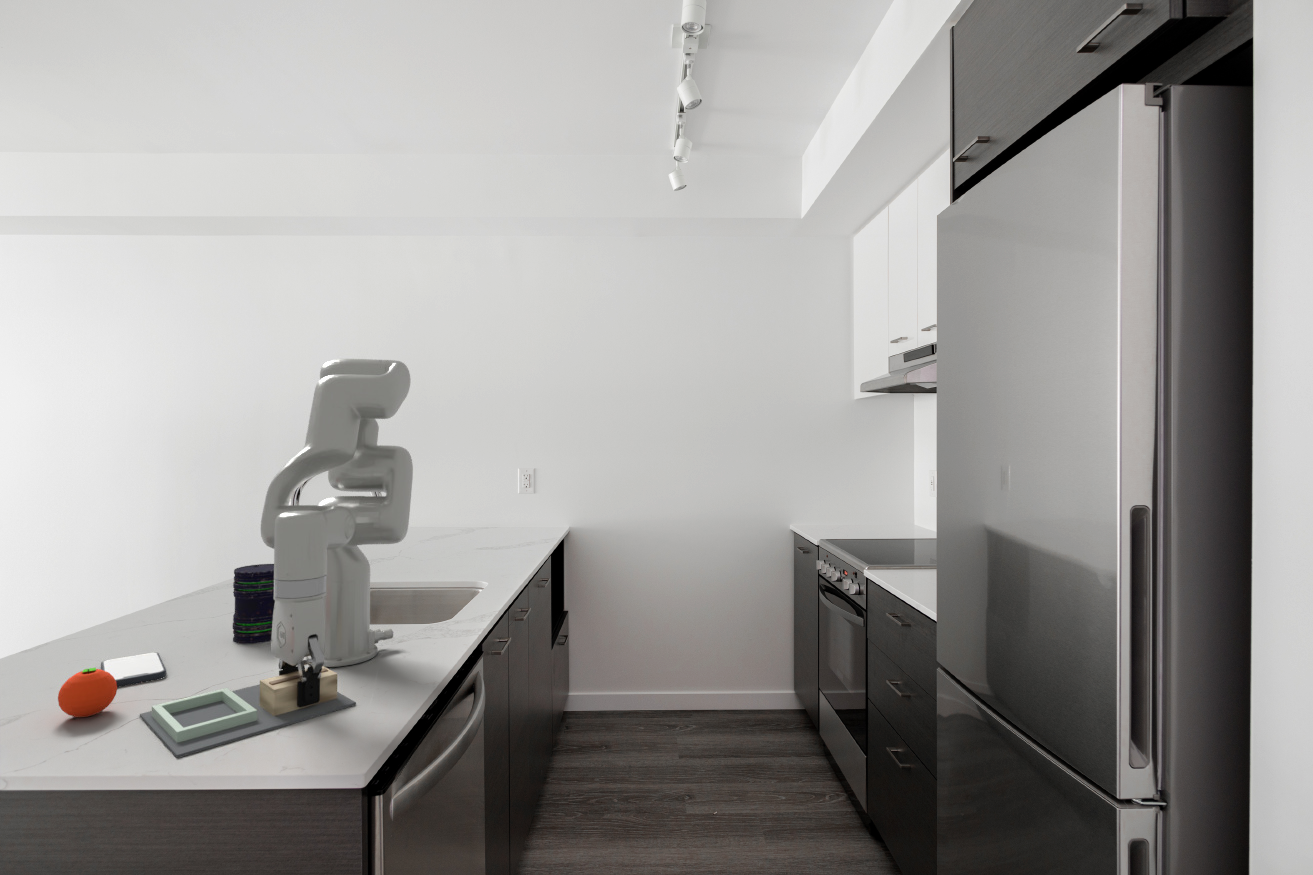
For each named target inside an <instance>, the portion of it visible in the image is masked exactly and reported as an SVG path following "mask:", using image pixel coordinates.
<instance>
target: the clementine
mask: <svg viewBox="0 0 1313 875" xmlns="http://www.w3.org/2000/svg"><path fill="white" fill-rule="evenodd" d="M117 692H118V687H117V683H116V680H115V679H114V677H113V676H112V675H111V674H110V673H108V672H106V671H104V670H101V668H100V669H99V668H96V667H90V668H84V669H83V670H81V671H78V672H76V673H75V674H73V675H72V676H70V677H69V678H67V679H66V681H65V682H64V683H63V684H62V685H61V687H60V689H59V691H58V696H57V702H58V706H59V707H60V709H61V711H62V712H64V713H65V714H66V715H68V716H70V717H73V718H74V717H75V718H87V717H91V716H94V715H97V714H99V713H101V712H103V710H105V709H107V708H108V707H109V706H110V705H111V703H112V702H113V701H114V699H115V697H116V695H117Z"/></svg>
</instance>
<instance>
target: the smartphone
mask: <svg viewBox="0 0 1313 875" xmlns="http://www.w3.org/2000/svg"><path fill="white" fill-rule="evenodd" d="M100 669H101V670H104V671H106V672H108V673H110V674H111V675H112V676H113V677H114V679H115V680H116V683H117V688H120V687H119V686H121V687H125V685H127V686H131V684H132V685H137V684H136V683H138V684H142V683H141V682H143V683H147V682H146V681H148V682H152V681H151V680H154V681H158V680H157V679H159V680H162V679H164V678H163V677H165V676H166V677H167V668H166V666H165V664H164V663H163V660H162V658H161V656H160V653H159V652H147V653H141V654H136V655H128V656H123V657H117V658H111V659H106V660H103V661H101V663H100ZM166 677H165V678H166ZM161 678H162V679H161Z"/></svg>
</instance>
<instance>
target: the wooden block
mask: <svg viewBox="0 0 1313 875" xmlns="http://www.w3.org/2000/svg"><path fill="white" fill-rule="evenodd" d="M306 670H307V668H305V672H306ZM298 681H300V676H299V671H296V672H292V673H288V674H284V675H280V676H279V675H277V676H272V677H269V678H265V679H261V680H259V684H260V702H259V706H261V707H262V708H263V709H265V710H266V711H268V712H269V713H270V714H272V715H273V716H276V715H279V714H283V713H286V712H290V711H294V710H297V709H301V708H304V707H308V706H311V705H315V704H318V703H322V702H325V701H329V700H332V699H336V698H337V692H338V673H337V672H335V671H333V670H331V669H329V667H324V666H322V670H321V678H320V701H319V702H318V703H315V704H311V705H308V706H304V707H298V706H297V682H298Z"/></svg>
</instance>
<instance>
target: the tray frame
mask: <svg viewBox="0 0 1313 875" xmlns="http://www.w3.org/2000/svg"><path fill="white" fill-rule="evenodd" d="M232 691H233V690H230V689H229V687H225V688H221V689H217V690H212V691H208V692H204V693H200V694H197V695H191V696H188V697H185V698H180V699H175V700H171V701H167V702H163V703H159V704H154V705H152V706H151V711H152V717H153V718H154V719H155V720H156V721H157V722H158V723H159V724H160V725H161V726H162V728H163V729H164V730H165V731H166V732H167V733H168V734H169V735H170V736H171V737H172V738H173V739H174V740H175V741H176V743H178V742H182V741H185V740H189V739H193V738H196V737H200V736H203V735H207V734H210V733H214V732H217V731H221V730H224V729H228V728H231V727H235V726H238V725H242V724H245V723H249V722H253V721H256V720H257V710H256V709H255V708H253V707H252V706H251V705H249V704H248V703H247V702H245V701H244V700H243V699H241V698H240V697H239V696H237V695H236V694H235V693H233V692H232ZM218 701H223V702H224V703H226V704H227V705H228V706H229V707H231V708H232V709H233V710H235V711H236V712H237V713H236V714H232V715H229V716H225V717H221V718H218V719H214V720H210V721H207V722H203V723H199V724H195V725H192V726H188V727H184V728H183V727H182V726H181V725H180V724H179V723H178V722H177V721H176V720H175V719H174V718H173V717H172V716H171V715H170V713H174V712H178V711H182V710H186V709H190V708H194V707H198V706H202V705H206V704H210V703H214V702H218Z"/></svg>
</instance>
